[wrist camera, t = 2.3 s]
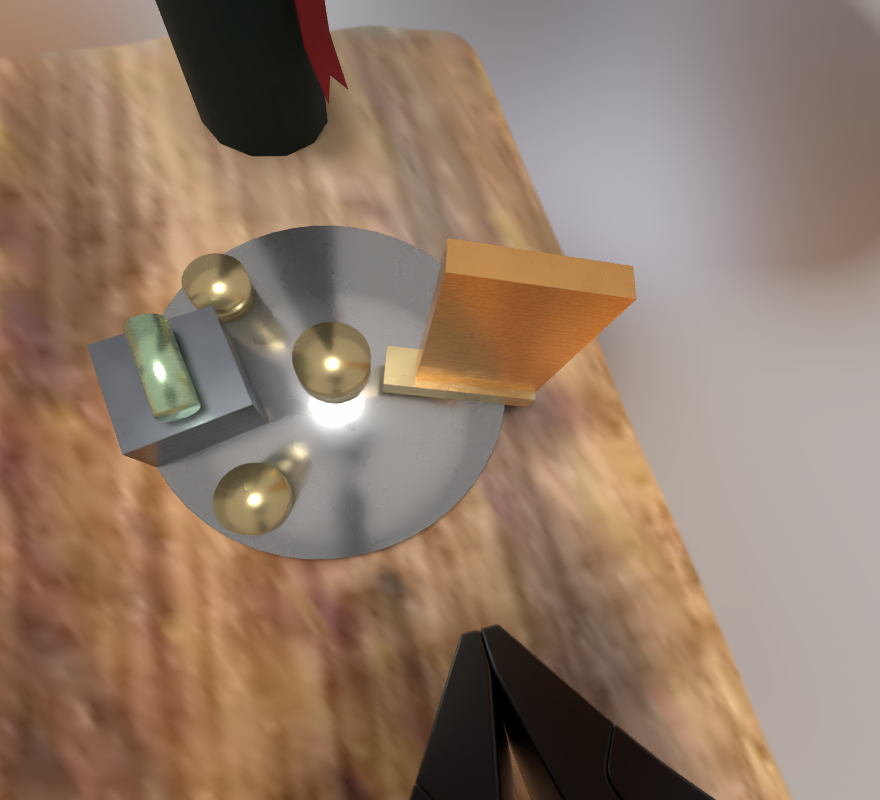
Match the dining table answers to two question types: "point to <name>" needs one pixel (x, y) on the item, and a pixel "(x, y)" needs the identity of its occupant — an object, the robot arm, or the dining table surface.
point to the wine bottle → (256, 69)
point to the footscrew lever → (479, 329)
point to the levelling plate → (294, 397)
